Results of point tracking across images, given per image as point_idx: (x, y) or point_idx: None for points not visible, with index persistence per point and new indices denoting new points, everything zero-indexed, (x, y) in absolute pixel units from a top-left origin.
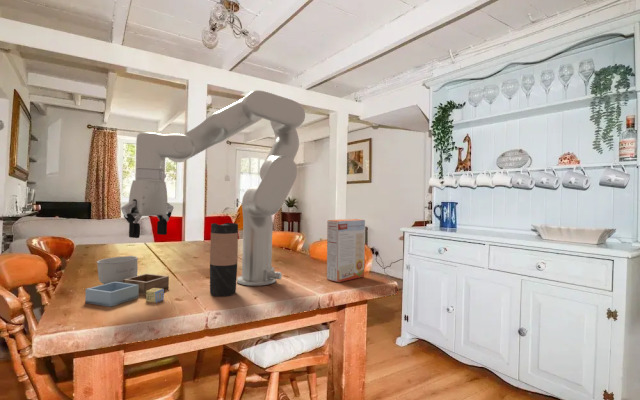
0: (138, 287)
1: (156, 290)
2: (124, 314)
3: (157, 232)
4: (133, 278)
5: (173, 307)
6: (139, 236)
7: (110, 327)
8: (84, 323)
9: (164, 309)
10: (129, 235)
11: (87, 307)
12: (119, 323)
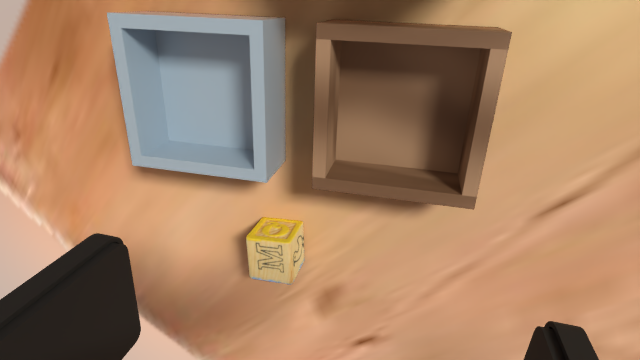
0: (270, 177)
1: (262, 272)
2: (147, 235)
3: (542, 343)
4: (379, 41)
5: (253, 322)
6: (135, 341)
7: None
8: (56, 189)
9: (228, 309)
10: (86, 246)
11: None
12: None
